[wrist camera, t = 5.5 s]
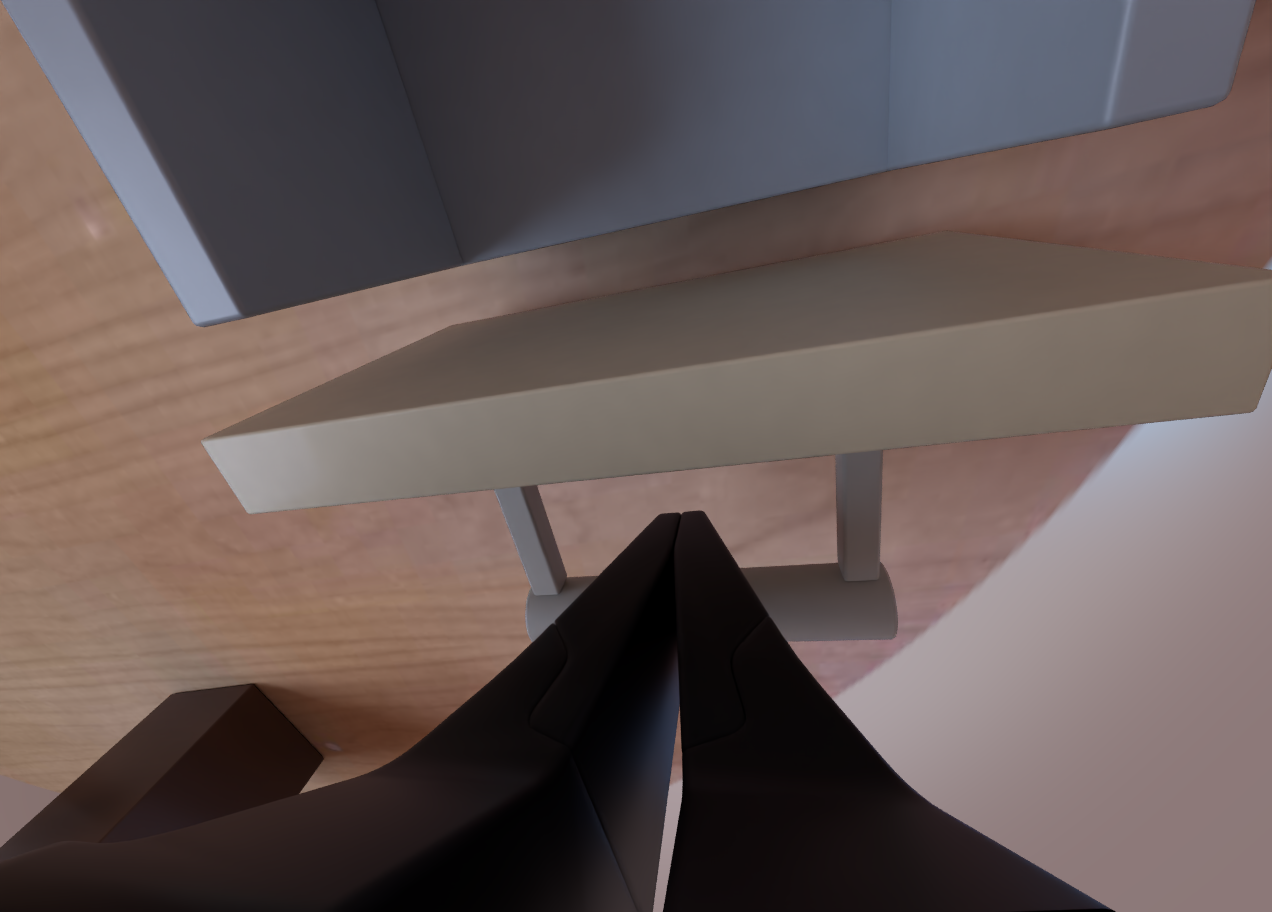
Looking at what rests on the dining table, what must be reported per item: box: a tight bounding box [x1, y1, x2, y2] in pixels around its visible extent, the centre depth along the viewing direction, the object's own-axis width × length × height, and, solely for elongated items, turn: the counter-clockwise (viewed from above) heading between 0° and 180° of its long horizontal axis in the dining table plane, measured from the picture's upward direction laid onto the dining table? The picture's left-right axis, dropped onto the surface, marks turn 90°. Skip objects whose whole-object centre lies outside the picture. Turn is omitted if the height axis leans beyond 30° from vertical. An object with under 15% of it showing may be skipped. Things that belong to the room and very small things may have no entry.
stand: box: [0, 684, 324, 862], centre depth 21 cm, size 6×6×10 cm
